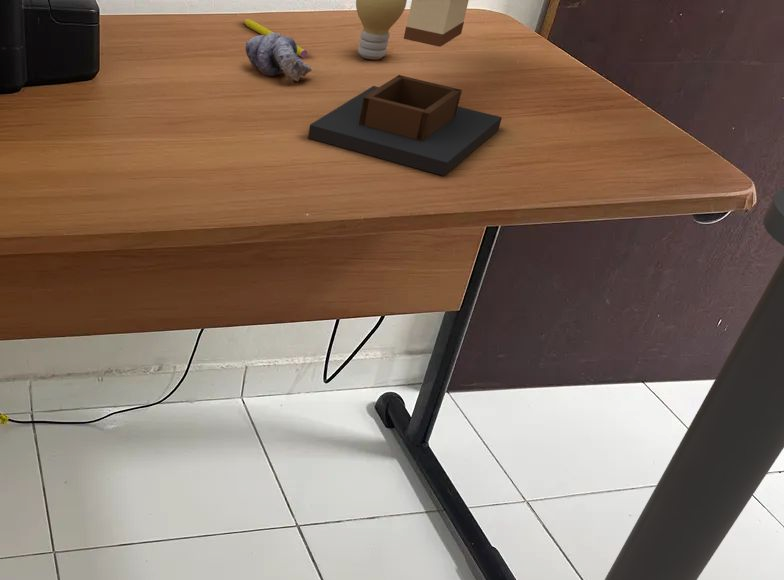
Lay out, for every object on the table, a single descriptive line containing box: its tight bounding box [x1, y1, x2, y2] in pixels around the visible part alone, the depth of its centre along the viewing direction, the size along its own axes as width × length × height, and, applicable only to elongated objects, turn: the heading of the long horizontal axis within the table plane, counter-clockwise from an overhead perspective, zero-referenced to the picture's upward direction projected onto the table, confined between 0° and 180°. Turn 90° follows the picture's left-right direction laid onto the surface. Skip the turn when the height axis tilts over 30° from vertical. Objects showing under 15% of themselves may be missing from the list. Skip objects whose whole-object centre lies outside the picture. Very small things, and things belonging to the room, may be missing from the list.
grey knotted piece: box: [245, 31, 313, 82], centre depth 113 cm, size 5×5×10 cm
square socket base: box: [307, 74, 503, 177], centre depth 100 cm, size 16×16×4 cm
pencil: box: [243, 18, 308, 59], centre depth 125 cm, size 16×1×1 cm, turn 25°
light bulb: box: [355, 0, 407, 60], centre depth 118 cm, size 6×6×10 cm
